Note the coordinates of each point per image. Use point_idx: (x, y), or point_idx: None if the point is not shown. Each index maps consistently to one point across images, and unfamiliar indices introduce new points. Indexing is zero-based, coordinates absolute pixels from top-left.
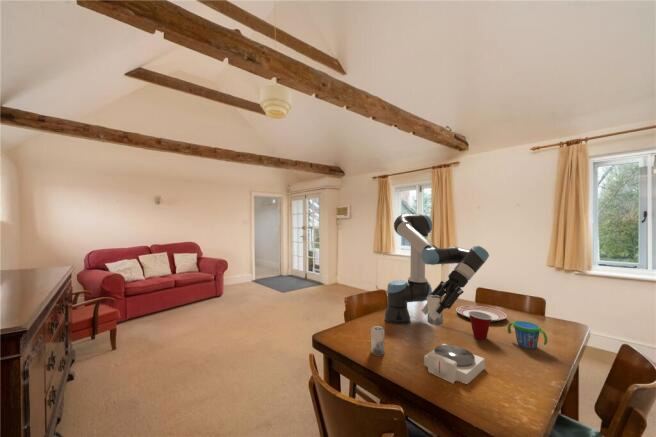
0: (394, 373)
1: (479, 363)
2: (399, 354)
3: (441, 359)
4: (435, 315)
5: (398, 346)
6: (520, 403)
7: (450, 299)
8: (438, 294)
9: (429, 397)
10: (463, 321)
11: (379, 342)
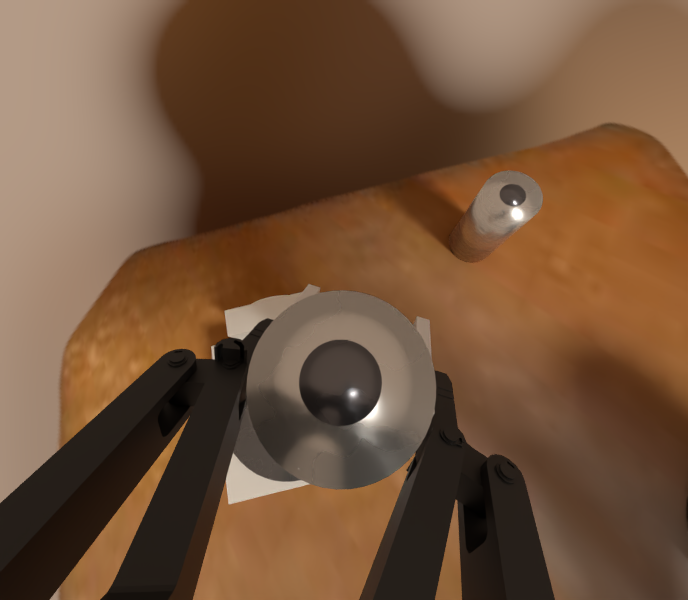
0: (355, 220)
1: None
2: (433, 295)
3: (263, 303)
4: None
5: (483, 329)
6: None
7: (97, 425)
8: (389, 537)
9: (246, 231)
10: None
11: (465, 213)
